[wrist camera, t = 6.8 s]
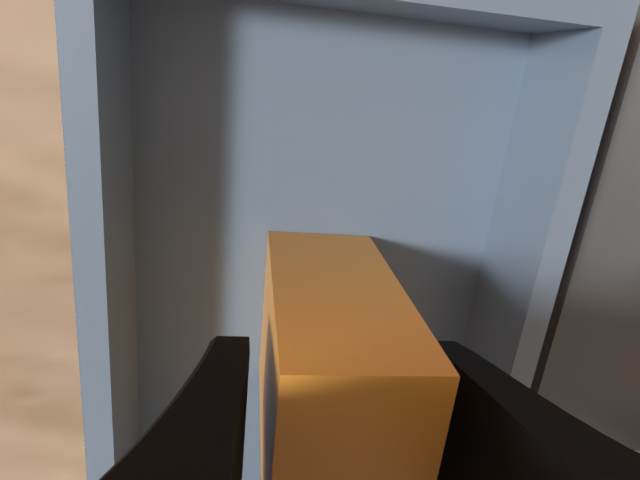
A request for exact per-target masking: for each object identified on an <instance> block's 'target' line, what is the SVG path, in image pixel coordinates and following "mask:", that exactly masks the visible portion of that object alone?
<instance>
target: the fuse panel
mask: <svg viewBox="0 0 640 480" xmlns="http://www.w3.org/2000/svg"><path fill="white" fill-rule="evenodd" d="M530 389H531V390H533V391H534V392H536V393H537V394H539V395H541V396H542V397H544V398H545V399H547V400H548V401H550V402H552V403H553V404H555V405H556V406H558V407H560V408H561V409H563V410H564V411H566V412H568V413H569V414H571V415H573V416H574V417H576V418H578V419H579V420H581V421H583V422H584V423H586V424H588V425H589V426H591V427H593V428H595V429H596V430H598V431H600V432H601V433H603V434H605V435H606V436H608V437H610V438H612V439H614V440H615V441H617V442H619V443H621V444H623V445H625V446H626V447H628V448H630V449H632V450H634V451H636V452H638V453H640V4H639V7H638V11H637V14H636V18H635V21H634V25H633V28H632V32H631V35H630V39H629V42H628V46H627V50H626V53H625V57H624V60H623V64H622V67H621V71H620V74H619V78H618V81H617V85H616V88H615V92H614V95H613V99H612V102H611V106H610V109H609V113H608V116H607V120H606V123H605V127H604V131H603V134H602V138H601V141H600V145H599V148H598V152H597V155H596V159H595V162H594V166H593V169H592V173H591V176H590V180H589V183H588V187H587V190H586V194H585V197H584V201H583V204H582V208H581V212H580V215H579V219H578V222H577V226H576V229H575V233H574V236H573V240H572V243H571V247H570V250H569V254H568V257H567V261H566V264H565V268H564V271H563V275H562V278H561V282H560V285H559V289H558V293H557V296H556V300H555V303H554V307H553V310H552V314H551V317H550V321H549V324H548V328H547V331H546V335H545V338H544V342H543V345H542V349H541V352H540V356H539V359H538V363H537V367H536V370H535V374H534V377H533V381H532V384H531V388H530Z"/></svg>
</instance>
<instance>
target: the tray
mask: <svg viewBox="0 0 640 480" xmlns="http://www.w3.org/2000/svg"><path fill="white" fill-rule="evenodd" d="M639 4H640V0H54V7H55V21H56V36H57V50H58V65H59V79H60V94H61V108H62V122H63V137H64V151H65V166H66V180H67V195H68V209H69V224H70V238H71V253H72V267H73V282H74V296H75V311H76V325H77V340H78V354H79V369H80V383H81V397H82V412H83V426H84V441H85V455H86V470H87V480H99V479H100V478H101V477H102V476H103V475H104V474H105V473H106V472H107V471H108V470H109V469H110V468H111V467H112V466H113V465H115V464H116V463H117V462H118V461H119V460H120V459H121V458H122V457H123V455H124V454H125V453H126V452H127V451H128V450H129V449H130V448H131V447H132V446H133V445H134V444H135V443H136V442H137V441H138V440H139V439H140V437H141V436H142V435H143V434H144V433H145V432H146V431H147V429H148V428H149V427H150V426H151V425H152V424H153V422H154V421H155V420H156V419H157V418H158V416H159V415H160V414H161V413H162V412H163V411H164V409H165V408H166V407H167V406H168V405H169V403H170V402H171V401H172V400H173V398H174V397H175V395H176V394H177V393H178V391H179V390H180V389H181V387H182V386H183V385H184V383H185V382H186V381H187V379H188V378H189V376H190V375H191V374H192V372H193V370H194V369H195V367H196V366H197V364H198V363H199V361H200V360H201V358H202V356H203V355H204V353H205V351H206V349H207V347H208V345H209V343H210V341H211V340H212V339H213V338H215V337H216V336H246V337H249V341H250V359H249V375H248V391H247V407H246V423H245V439H244V456H243V472H242V480H261V441H260V387H259V362H260V347H261V331H262V316H263V301H264V285H265V270H266V255H267V239H268V231H276V232H296V233H316V234H336V235H356V236H370V238H371V239H372V241H373V242H374V244H375V245H376V247H377V249H378V250H379V252H380V253H381V255H382V256H383V258H384V259H385V261H386V262H387V264H388V266H389V267H390V269H391V270H392V272H393V273H394V275H395V276H396V278H397V279H398V281H399V283H400V284H401V286H402V287H403V289H404V290H405V292H406V293H407V295H408V296H409V298H410V300H411V301H412V303H413V304H414V306H415V307H416V309H417V310H418V312H419V313H420V315H421V317H422V318H423V320H424V321H425V323H426V324H427V326H428V327H429V329H430V330H431V332H432V334H433V335H434V337H435V338H436V340H437V341H455V342H457V343H459V344H461V345H463V346H465V347H467V348H468V349H470V350H472V351H473V352H475V353H476V354H478V355H480V356H481V357H483V358H484V359H486V360H487V361H489V362H490V363H492V364H493V365H495V366H496V367H498V368H499V369H501V370H502V371H504V372H505V373H507V374H509V375H510V376H512V377H513V378H515V379H516V380H518V381H519V382H521V383H522V384H524V385H525V386H527V387H528V388H531V384H532V381H533V377H534V374H535V370H536V367H537V363H538V359H539V356H540V352H541V349H542V345H543V342H544V338H545V335H546V331H547V328H548V324H549V321H550V317H551V314H552V310H553V307H554V303H555V300H556V296H557V293H558V289H559V285H560V282H561V278H562V275H563V271H564V268H565V264H566V261H567V257H568V254H569V250H570V247H571V243H572V240H573V236H574V233H575V229H576V226H577V222H578V219H579V215H580V212H581V208H582V204H583V201H584V197H585V194H586V190H587V187H588V183H589V180H590V176H591V173H592V169H593V166H594V162H595V159H596V155H597V152H598V148H599V145H600V141H601V138H602V134H603V131H604V127H605V123H606V120H607V116H608V113H609V109H610V106H611V102H612V99H613V95H614V92H615V88H616V85H617V81H618V78H619V74H620V71H621V67H622V64H623V60H624V57H625V53H626V50H627V46H628V42H629V39H630V35H631V32H632V28H633V25H634V21H635V18H636V14H637V11H638V7H639Z"/></svg>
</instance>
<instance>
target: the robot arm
mask: <svg viewBox="0 0 640 480" xmlns="http://www.w3.org/2000/svg"><path fill="white" fill-rule="evenodd" d="M438 343H439V344H440V346H441V347H442V349H443V351H444V352H445V354H446V355H447V357H448V358H449V360H450V361H451V363H452V364H453V366H454V368H455V369H456V371H457V372H458V374H459V375H460V380H459V384H458V389H457V393H456V398H455V402H454V406H453V411H452V415H451V420H450V424H449V429H448V433H447V437H446V442H445V446H444V451H443V455H442V460H441V464H440V468H439V473H438V477H437V480H640V453H638V452H636V451H634V450H632V449H630V448H628V447H626V446H625V445H623V444H621V443H619V442H617V441H615V440H614V439H612V438H610V437H608V436H606V435H605V434H603V433H601V432H600V431H598V430H596V429H595V428H593V427H591V426H589V425H588V424H586V423H584V422H583V421H581V420H579V419H578V418H576V417H574V416H573V415H571V414H569V413H568V412H566V411H564V410H563V409H561V408H560V407H558V406H556V405H555V404H553V403H552V402H550V401H548V400H547V399H545V398H544V397H542V396H541V395H539V394H537V393H536V392H534V391H533V390H531V389H530V388H528V387H527V386H525V385H524V384H522V383H521V382H519V381H518V380H516V379H515V378H513V377H512V376H510V375H509V374H507V373H505V372H504V371H502V370H501V369H499V368H498V367H496V366H495V365H493V364H492V363H490V362H489V361H487V360H486V359H484V358H483V357H481V356H480V355H478V354H476V353H475V352H473V351H472V350H470V349H468V348H467V347H465V346H463V345H461V344H459V343H457V342H455V341H438ZM249 359H250V341H249V337H246V336H216V337H215V338H213V339H212V340H211V341H210V343H209V345H208V347H207V349H206V351H205V353H204V355H203V356H202V358H201V360H200V361H199V363H198V364H197V366H196V367H195V369H194V370H193V372H192V374H191V375H190V376H189V378H188V379H187V381H186V382H185V383H184V385H183V386H182V387H181V389H180V390H179V391H178V393H177V394H176V395H175V397H174V398H173V400H172V401H171V402H170V403H169V405H168V406H167V407H166V408H165V409H164V411H163V412H162V413H161V414H160V415H159V416H158V418H157V419H156V420H155V421H154V422H153V424H152V425H151V426H150V427H149V428H148V429H147V431H146V432H145V433H144V434H143V435H142V436H141V437H140V439H139V440H138V441H137V442H136V443H135V444H134V445H133V446H132V447H131V448H130V449H129V450H128V451H127V452H126V453H125V454H124V455H123V457H122V458H121V459H120V460H119V461H118V462H117V463H116V464H115V465H113V466H112V467H111V468H110V469H109V470H108V471H107V472H106V473H105V474H104V475H103V476H102V477H101V478H100V479H99V480H242V472H243V456H244V439H245V423H246V407H247V391H248V375H249Z"/></svg>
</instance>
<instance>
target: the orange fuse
mask: <svg viewBox="0 0 640 480" xmlns="http://www.w3.org/2000/svg"><path fill="white" fill-rule="evenodd" d="M459 380H460V375H459V374H458V372H457V371H456V369H455V368H454V366H453V364H452V363H451V361H450V360H449V358H448V357H447V355H446V354H445V352H444V351H443V349H442V347H441V346H440V344H439V343H438V341H437V340H436V338H435V337H434V335H433V334H432V332H431V330H430V329H429V327H428V326H427V324H426V323H425V321H424V320H423V318H422V317H421V315H420V313H419V312H418V310H417V309H416V307H415V306H414V304H413V303H412V301H411V300H410V298H409V296H408V295H407V293H406V292H405V290H404V289H403V287H402V286H401V284H400V283H399V281H398V279H397V278H396V276H395V275H394V273H393V272H392V270H391V269H390V267H389V266H388V264H387V262H386V261H385V259H384V258H383V256H382V255H381V253H380V252H379V250H378V249H377V247H376V245H375V244H374V242H373V241H372V239H371V238H370V236H356V235H336V234H316V233H296V232H276V231H268V239H267V255H266V270H265V285H264V301H263V316H262V331H261V347H260V362H259V387H260V441H261V480H437V477H438V473H439V468H440V464H441V460H442V455H443V451H444V446H445V442H446V437H447V433H448V429H449V424H450V420H451V415H452V411H453V406H454V402H455V398H456V393H457V389H458V384H459Z"/></svg>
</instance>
